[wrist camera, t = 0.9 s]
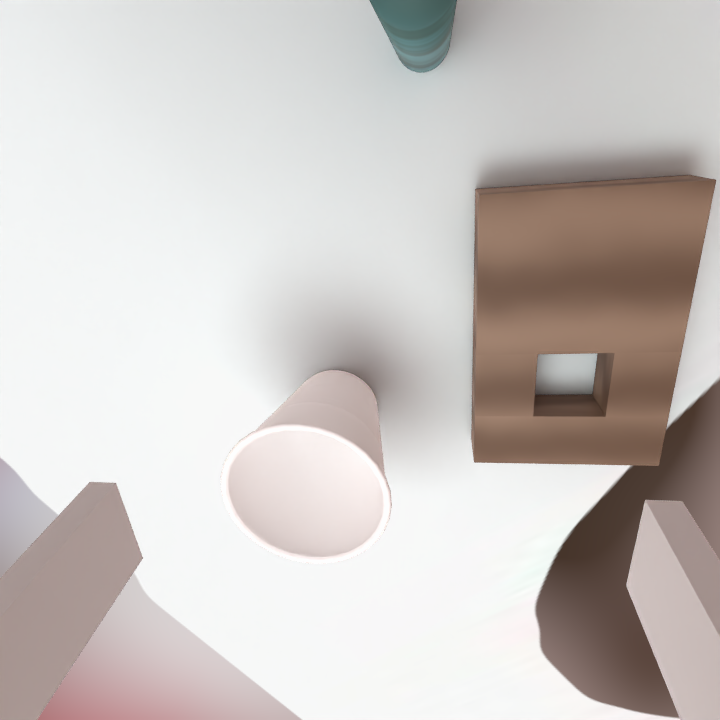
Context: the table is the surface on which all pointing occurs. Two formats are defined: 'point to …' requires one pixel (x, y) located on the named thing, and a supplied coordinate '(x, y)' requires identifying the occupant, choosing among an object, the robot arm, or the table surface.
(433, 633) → the table surface
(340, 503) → the cup
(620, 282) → the hole plate
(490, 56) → the table surface
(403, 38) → the peg
